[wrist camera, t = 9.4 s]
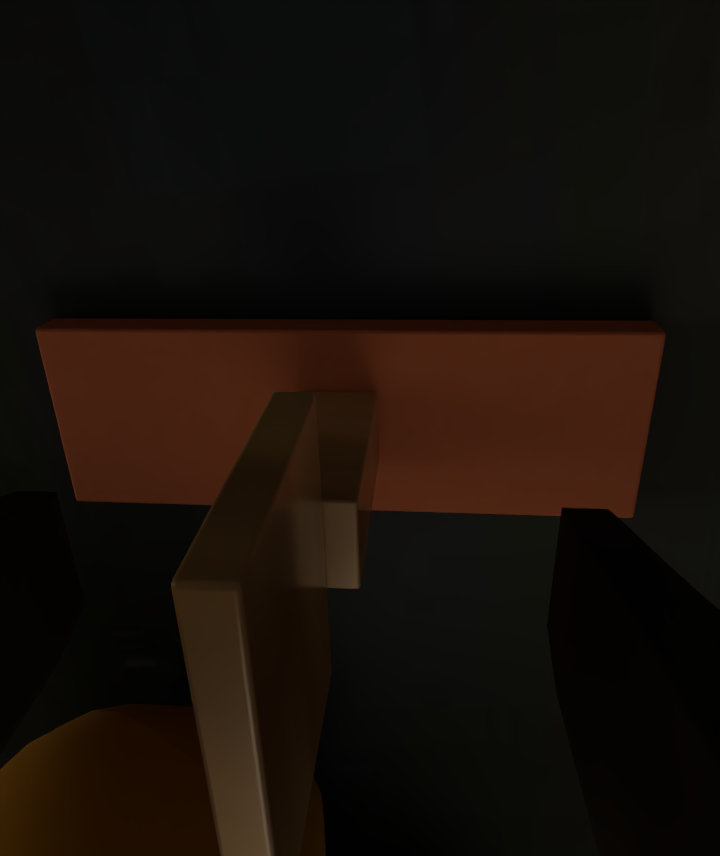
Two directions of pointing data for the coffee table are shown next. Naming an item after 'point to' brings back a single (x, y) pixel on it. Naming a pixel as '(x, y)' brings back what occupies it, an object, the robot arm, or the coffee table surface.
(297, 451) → the brown slab
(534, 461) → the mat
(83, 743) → the apple
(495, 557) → the coffee table surface
